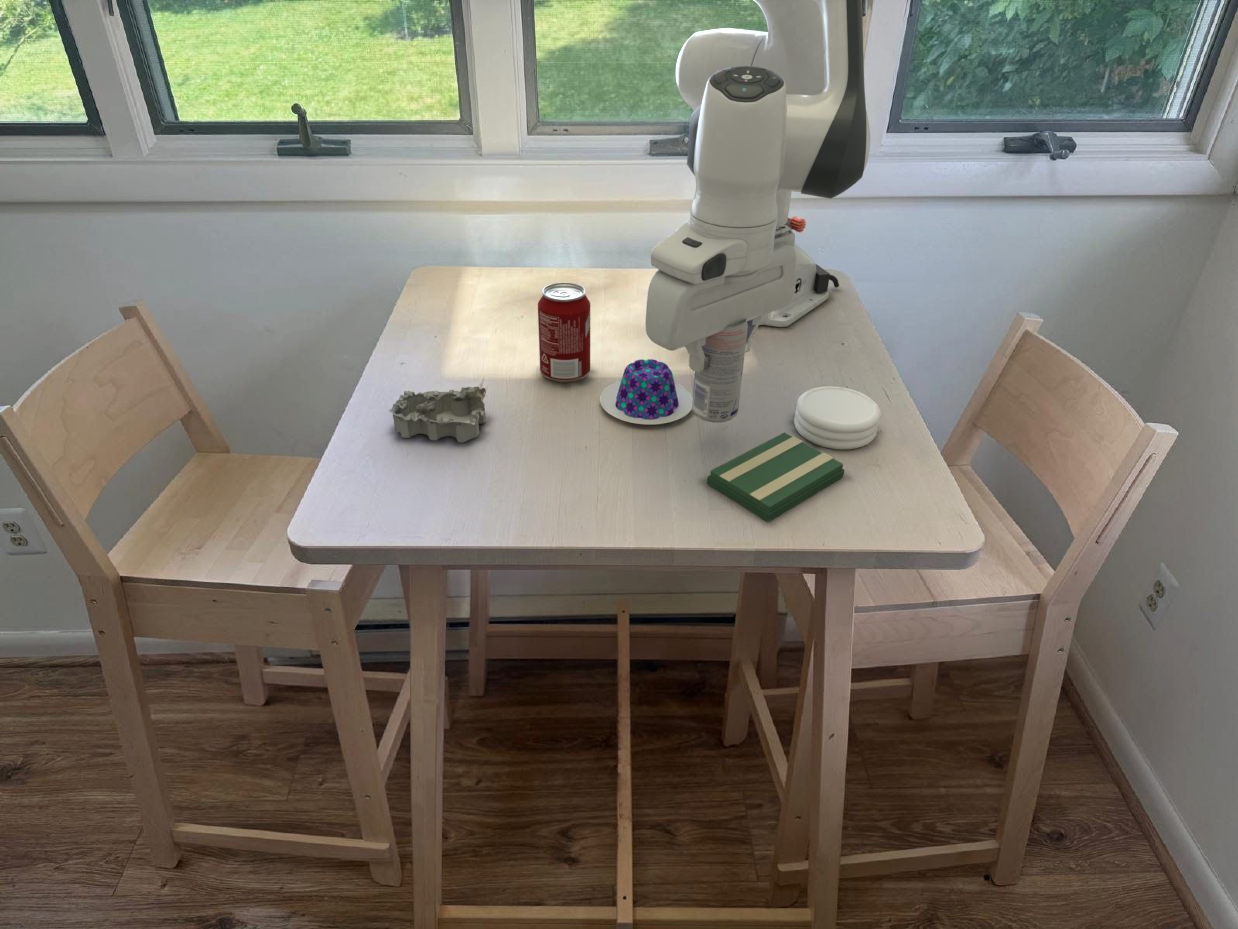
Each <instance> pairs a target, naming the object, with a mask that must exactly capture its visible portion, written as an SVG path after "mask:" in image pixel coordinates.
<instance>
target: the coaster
mask: <svg viewBox="0 0 1238 929" xmlns="http://www.w3.org/2000/svg"><path fill="white" fill-rule="evenodd" d="M794 413H795V415H794V418H793V423H794V427H795V430H796V431H797V433H798V434H799V435H800V436H802V437H803V439H805V440H806V441H808V442H810V443H812V444H815V445H817V446H819V447H823V448H827V449H832V450H853V449H860V448H862V447H865V446H867V445H869V444H870V443H872V442H873V441H874V439H875V438H876V436H877V434H878V429H879V425H880V422H879V421H880V420H881V416H882V415H881V409H880V407H879V405H878V403H876V402H875V400H873V398H871V397H869V396H868V395H866V394H864V393H863V392H860V391H858V390H855V389H851V388H847V387H842V386H833V385H831V386H830V385H829V386H818V387H814V388H810V389H809V390H806V391H805V392H803V393H802V394H800V396H799V397H798V399H797V400H796V408H795V412H794Z"/></svg>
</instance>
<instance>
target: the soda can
mask: <svg viewBox="0 0 1238 929" xmlns="http://www.w3.org/2000/svg"><path fill="white" fill-rule="evenodd" d="M541 292H542V293H541V294H542V296H541V297H540V298H539V300H538V301H537V318H538V319H537V322H538V349H539V350H538V351H539V352H538V353H539V354H538V355H539V372H540V374H541V375H542V376H543V377H545V378H546V379H548V380H551V381H553V382H556V383H561V384H562V383H563V384H564V383H567V384H569V383H573V382H577V381H580V380H581V379H584V378H585V377H587V376H588V375H589V374H590V372H591V301H590V300H589V298H588V296H587V295H586V288H584V286H582V285H580V284H578V283H575V282H566V281H565V282H563V281H560V282H553V283H550V284H547V285H546V286H544V287H543V288H542V291H541Z"/></svg>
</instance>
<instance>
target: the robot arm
mask: <svg viewBox="0 0 1238 929" xmlns="http://www.w3.org/2000/svg"><path fill="white" fill-rule="evenodd" d="M752 1H753V2H755V3H756V5H758V6H759V8H760V9H761V11H762V13H763V16H764V18H765V21H766V25H767V31H759V30H751V29H750V30H749V29H743V28H742V29H741V28H734V27H733V28H732V27H724V28H715V29H708V30H707V29H706V30H701V31H695V32H694V33H693V34H692V35H691V36H690V37H689V38H688V39H687V40H686V41H685V42H684V44H683V46H682V47H681V49H680V51H679V54H678V56H677V60H676V64H675V81H676V86H677V89H678V92H679V94H680V96H681V98H682V101H684V102H685V103H686V104H687V106H689V107H690V108H691V110H692V113H691V115H690V119H689V124H688V144H687V157H686V158H687V159H686V165H687V166H688V168H689V170H690V172H691V173H692V175H693V176H694V178H695V192H694V196H693V199H692V201H691V205H690V211H689V219H688V220H686V221H685V222H683V224H681V225H680V226H679V227H678V228H677V229H676V230H675V231H674V232H672V233H671V234H670V235H668V236H667V237H666V238H664V239H663V240H662V241H660V242H659V243H657V244H656V245H655V246H654V247H653V248H652V250H651V252H650V264H651V266H652V267H654V268H655V269H657V271H656V272H654V274H653V275H652V276H651V279H650V281H649V285H648V289H647V296H646V308H645V333H646V335H647V337H648V338H649V340H650V341H651V342H652V343H654V344H656V345H657V346H659V347H661V348H663V349H665V350H666V351H667V350H668V351H671V352H672V351H676V350H678V349H681V348H684V347H685V349H686V351H687V353H688V354H689V358H688V367H689V369H690V370H692V371H694V372H695V371H696V372H697V373H699V372H701V371H704V370H706V369H708V368H709V366H710V364H709V362H710V355H708V354H705V353H704V352H703V350H702V347H701V346H703V345H705V343H706V337H709V336H712V335H714V334H717V333H719V332H722V331H723V330H724V329H725V327H730V326H733V325H736V324H738V323H741V322H743V321H745V320H746V319H747V320H746V321H747V324H748V329H747V338H746V346H745V354H746V353H749V352H750V350H751V343H752V339H753V338H754V335H755V334H756V332H757V330H758V328H759V326H769V327H777V328H787V327H789V326H790V325H792V324H793V323H795V322H796V321H798V320H799V319H801V318H802V317H803V316H805V315H807V314H808V313H809V312H811V311H812V310H814V309H816V308H817V307H818V306H820V305H821V304H823V303H824V302H825V301H827V300H828V299H829V290H828V289H829V283H830V281H831V282H832V283H833V288H835V289H836V288H838V287H840V283H839V280H838V278H837V276H835V275H832V274H831V273H830V272H828V271H826V270H825V269H824V268H823V267H821V266H820V265H818V264H817V263H816V261H815V260H814V259H813V257H812V256H810V255H809V254H808V253H807V252H806V251H805V250H804V249H802V247H800V246H799V245H798V244H797V243H796V242H795V241H796V234H795V233H794V231H795V232H797V233H802V232H804V229H806V225H807V221H806V219H805V218H801V217H797V215H795V216H792V217H791V218H790V217H789V215H790V214H789V213H790V206H791V200H792V192H796V193H800V194H802V195H808V196H814V197H818V198H823V199H830V200H831V199H833V198H836V197H838V196H839V195H841V194H843V193H845V192H846V191H847V190H849V189H850V188H851V187H853V186H855V185H856V183H858V182H859V181H860V180H861V179H862V178H863V176H864V172H865V169H866V167H867V164H868V161H869V157H870V151H871V129H870V122H869V117H868V112H867V104H866V89H865V63H864V62H865V57H864V56H865V55H864V24H863V0H752Z"/></svg>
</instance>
